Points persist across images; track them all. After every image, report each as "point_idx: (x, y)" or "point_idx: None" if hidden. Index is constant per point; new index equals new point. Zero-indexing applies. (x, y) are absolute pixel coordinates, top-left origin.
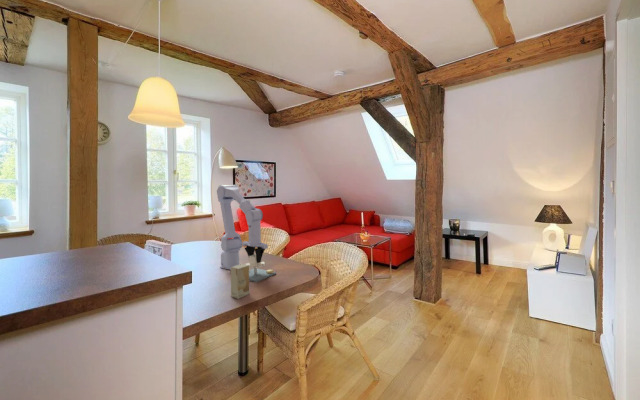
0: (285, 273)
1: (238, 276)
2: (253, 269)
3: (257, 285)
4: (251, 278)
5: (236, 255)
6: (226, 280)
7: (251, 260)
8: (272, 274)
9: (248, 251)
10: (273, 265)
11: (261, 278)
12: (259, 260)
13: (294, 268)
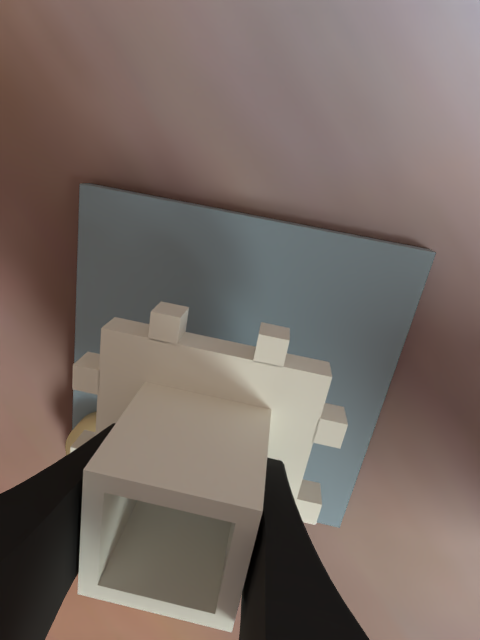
0: (13, 480)
1: None
2: (326, 489)
3: (15, 92)
4: (173, 226)
5: None
6: (476, 106)
7: (213, 437)
8: (75, 418)
9: (271, 615)
10: (232, 631)
11: (77, 266)
12: None
13: None
